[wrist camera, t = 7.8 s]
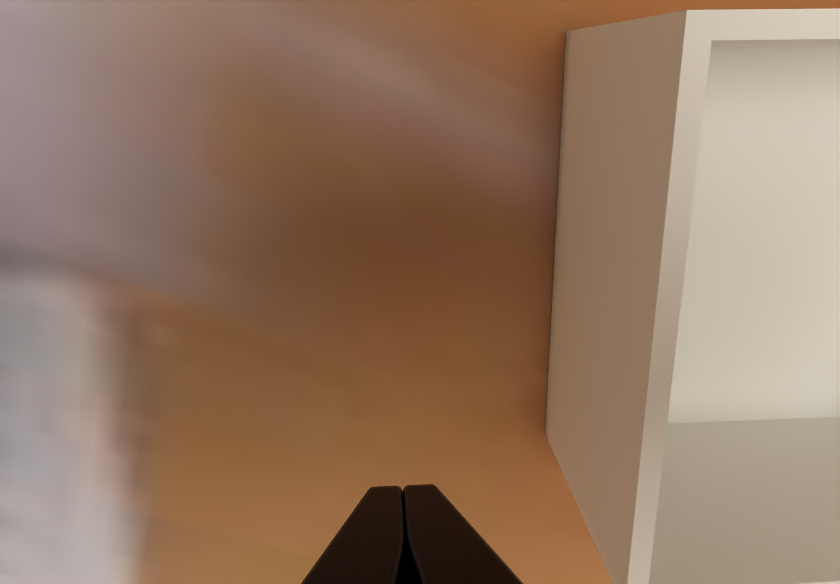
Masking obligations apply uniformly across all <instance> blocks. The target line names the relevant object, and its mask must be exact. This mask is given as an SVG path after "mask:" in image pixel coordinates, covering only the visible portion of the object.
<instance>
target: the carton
mask: <svg viewBox="0 0 840 584" xmlns="http://www.w3.org/2000/svg"><path fill="white" fill-rule="evenodd" d="M545 435H546V437H547V439H548V442H549V444H550V446H551V448H552V451H553V453H554V455H555V457H556V459H557V462H558V464H559V466H560V468H561V470H562V473H563V475H564V477H565V479H566V481H567V484H568V486H569V488H570V490H571V493H572V495H573V497H574V499H575V501H576V504H577V506H578V508H579V510H580V512H581V515H582V517H583V519H584V521H585V523H586V526H587V528H588V530H589V532H590V535H591V537H592V539H593V541H594V543H595V546H596V548H597V550H598V552H599V554H600V557H601V559H602V561H603V563H604V566H605V568H606V570H607V572H608V574H609V577H610V579H611V581H612V583H613V584H840V9H747V10H684V11H679V12H673V13H667V14H661V15H656V16H650V17H644V18H638V19H633V20H627V21H621V22H615V23H610V24H604V25H598V26H592V27H587V28H581V29H575V30H569V31H566V43H565V62H564V81H563V100H562V119H561V139H560V158H559V177H558V196H557V215H556V235H555V254H554V273H553V292H552V311H551V331H550V350H549V369H548V388H547V407H546V427H545Z"/></svg>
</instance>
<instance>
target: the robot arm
mask: <svg viewBox="0 0 840 584" xmlns="http://www.w3.org/2000/svg"><path fill="white" fill-rule="evenodd" d="M301 584H523V583H522V582H521V580H520V579H519V578H518V577H517V576H516V575H515V574H514V573H513V572H512V570H511V569H510V568H509V567H508V566H507V565H506V564H505V563H504V561H503V560H502V559H501V558H500V557H499V556H498V555H497V554H496V553H495V551H494V550H493V549H492V548H491V547H490V546H489V545H488V544H487V543H486V541H485V540H484V539H483V538H482V537H481V536H480V535H479V534H478V533H477V531H476V530H475V529H474V528H473V527H472V526H471V525H470V524H469V523H468V521H467V520H466V519H465V518H464V517H463V516H462V515H461V514H460V513H459V511H458V510H457V509H456V508H455V507H454V506H453V505H452V504H451V502H450V501H449V500H448V499H447V498H446V497H445V496H444V495H443V494H442V492H441V491H440V490H439V489H438V488H437V487H436V486H434V485H432V484H426V485H408V486H405V487H404V489H403V493H402V489H401V488H400V487H399V486H378V487H371V488H370V489H369V490H368V491H367V492H366V494H365V495H364V497H363V498H362V499H361V501H360V502H359V504H358V505H357V506H356V508H355V509H354V511H353V512H352V513H351V515H350V516H349V518H348V519H347V520H346V522H345V523H344V525H343V526H342V527H341V529H340V530H339V531H338V533H337V534H336V536H335V537H334V538H333V540H332V541H331V543H330V544H329V545H328V547H327V548H326V550H325V551H324V552H323V554H322V555H321V557H320V558H319V559H318V561H317V562H316V564H315V565H314V566H313V568H312V569H311V570H310V572H309V573H308V575H307V576H306V577H305V579H304V580H303V582H302V583H301Z"/></svg>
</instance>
